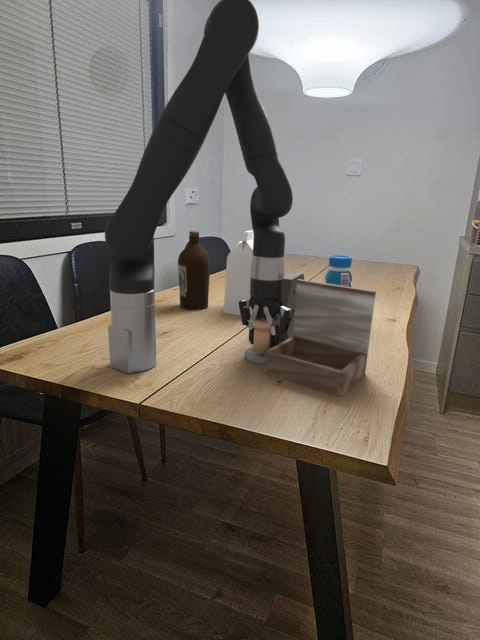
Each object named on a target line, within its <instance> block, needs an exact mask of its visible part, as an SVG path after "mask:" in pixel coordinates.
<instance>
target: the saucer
mask: <svg viewBox="0 0 480 640" xmlns="http://www.w3.org/2000/svg"><path fill="white" fill-rule="evenodd" d="M243 357H244V358H243V359H245V360H246V361H248V362H249V363H250V362H251V363H254V364H257V365H258V364H259V365H264V354H259V353H256V352H254V351H253V347H250V348H248V349H246V350H244V352H243Z"/></svg>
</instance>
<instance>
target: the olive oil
mask: <svg viewBox="0 0 480 640" xmlns="http://www.w3.org/2000/svg"><path fill="white" fill-rule="evenodd" d="M188 233H189V236H188V244H187V245H186V246H185V247H184V249H183V250H182V251H181V252H180V253H179V256H178V258H177V269H178V270H177V271H178V272H177V273H178V286H179V306H180V309H183V310H186V311H202V310H205V309H207V308H208V307H209V293H210V278H211V277H210V274H211V273H210V272H211V258H210V254H209V253H208V252H207V251H206V249H205V248H204V247H203V246H202V245H201V243H200V240H201V239H200V238H201V237H200V231H198V230H197V231H196V230H194V231H193V230H192V231H191V230H190V231H189V232H188Z"/></svg>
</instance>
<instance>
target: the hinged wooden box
mask: <svg viewBox="0 0 480 640" xmlns="http://www.w3.org/2000/svg"><path fill="white" fill-rule="evenodd" d="M376 295H377V290H371V289H367V288H366V289H364V288H359V287H358V288H357V287H353V286H352V287H347V286H340V285H334V284H327V283H325V282H320V281H314V280H313V281H312V280H307V279H304V280H302V279H298V280H297V289H296V302H295V315H294V329H293V336H292V337H291V338H289V339H287V340H285V341H283V342H279V344H278V345H276V346H274V347H272V348H270V349H269V350H267V351H265V352H264V364H263V370H262V371H263V374H265V375H269V376H272V377H276V378H279V379H282V380H285V381H289V382H292V383H294V384H298V385H302V386H306V387H308V388H312V389H315V390H318V391H320V392H321V391H322V392H324V393H327V394H332V395H335V396H338V397H341V398H342V397H343V396H344V395H345V394H346V393H347V392H349V390H350V389H352V388H353V386H354V385H355V384H356V383H357V382H358V381H359V380H360V379H362V377H363V376H364V375H365V374H366V371H367V370H366V369H367V361H368V356H369V346H370V341H371V340H370V339H371V331H372V324H373V317H374V316H373V315H374V310H375V309H374V308H375V301H376Z"/></svg>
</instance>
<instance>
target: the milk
mask: <svg viewBox="0 0 480 640" xmlns="http://www.w3.org/2000/svg"><path fill="white" fill-rule="evenodd" d="M242 236H243V237H242V240H240V241H238V242H237V243H236V245H235V247H234V248H233V249H232V250H231V251H230V252H229V253H228V254H227V257H226V265H225V266H226V269H225V270H226V271H225V283H224V285H225V286H224V299H223V300H224V301H223V314H228V315H229V314H230V315H237V316H238V315H239V316H241V314H240V309H239V301H242V300H245V299H247V300H249V299H250V297H251V295H250V279H251V263H252V257H253V239H254V233H253V230H246V231H244V232H243V235H242ZM249 309H250V314H251V315H252V312H253V310H252V308H251V306H250V308H249Z"/></svg>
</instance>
